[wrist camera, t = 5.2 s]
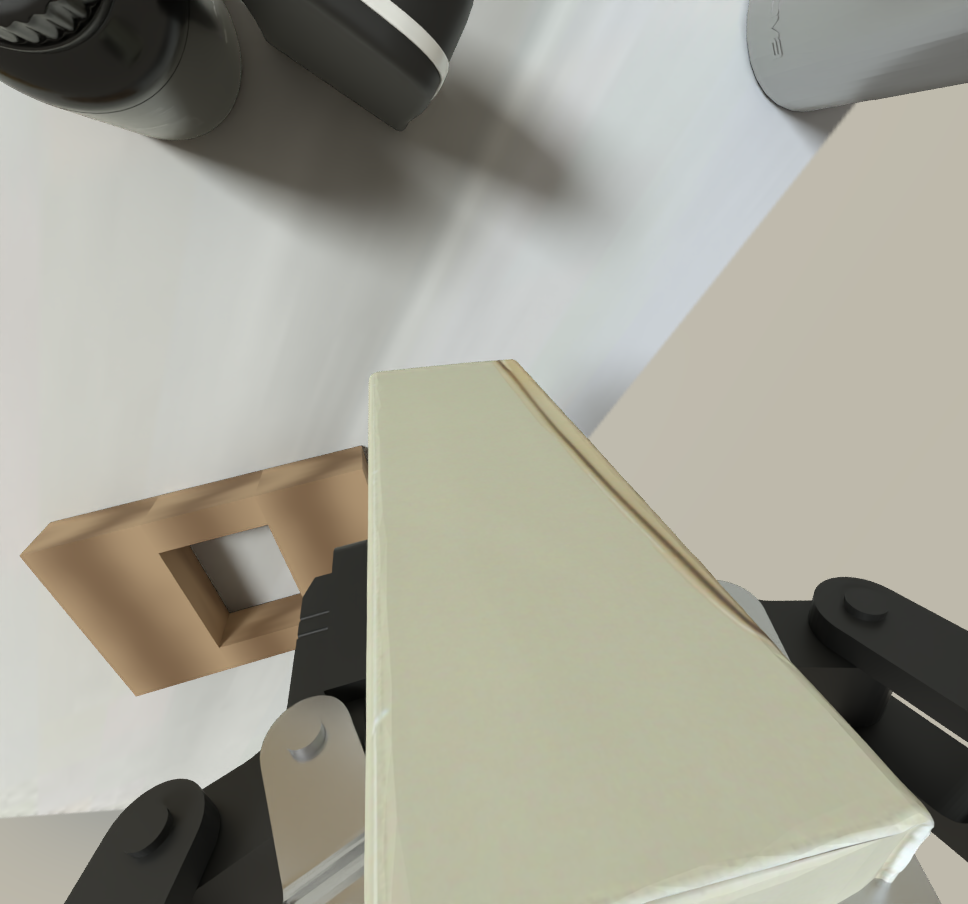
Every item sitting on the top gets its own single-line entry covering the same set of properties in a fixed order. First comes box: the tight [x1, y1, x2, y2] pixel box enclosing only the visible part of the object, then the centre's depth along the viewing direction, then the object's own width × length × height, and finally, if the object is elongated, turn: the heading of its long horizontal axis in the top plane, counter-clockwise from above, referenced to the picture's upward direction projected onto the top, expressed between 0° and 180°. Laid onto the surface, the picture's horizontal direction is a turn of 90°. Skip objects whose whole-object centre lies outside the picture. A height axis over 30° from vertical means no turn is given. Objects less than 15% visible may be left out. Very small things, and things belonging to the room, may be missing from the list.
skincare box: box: [364, 359, 934, 904], centre depth 10 cm, size 6×4×12 cm
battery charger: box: [242, 0, 474, 131], centre depth 17 cm, size 7×4×11 cm, turn 60°
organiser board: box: [20, 446, 368, 696], centre depth 31 cm, size 18×12×3 cm, turn 99°
